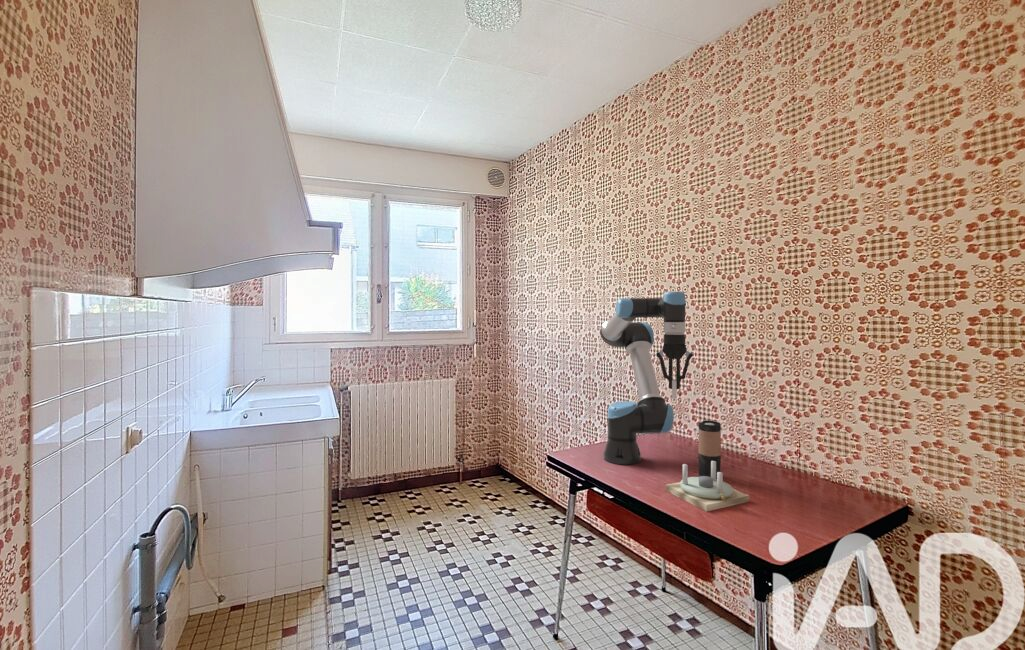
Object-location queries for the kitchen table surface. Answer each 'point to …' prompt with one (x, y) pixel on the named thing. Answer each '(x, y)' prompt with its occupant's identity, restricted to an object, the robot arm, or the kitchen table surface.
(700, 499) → the stand base
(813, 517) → the kitchen table surface
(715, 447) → the travel mug
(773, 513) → the kitchen table surface
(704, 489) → the green peg holder
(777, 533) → the kitchen table surface
